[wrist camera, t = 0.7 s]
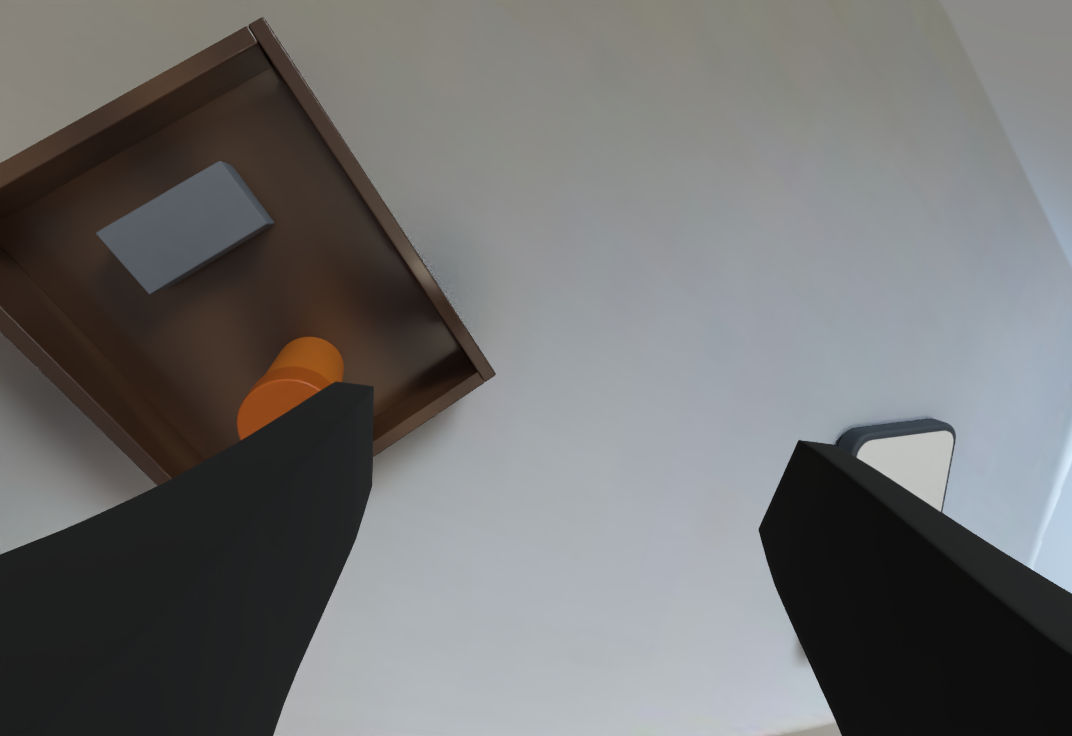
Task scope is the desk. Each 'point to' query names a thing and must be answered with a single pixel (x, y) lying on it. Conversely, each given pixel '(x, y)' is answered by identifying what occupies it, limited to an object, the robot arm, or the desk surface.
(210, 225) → the eraser
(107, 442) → the desk surface
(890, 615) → the robot arm
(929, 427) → the phone case
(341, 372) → the glue stick
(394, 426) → the box
